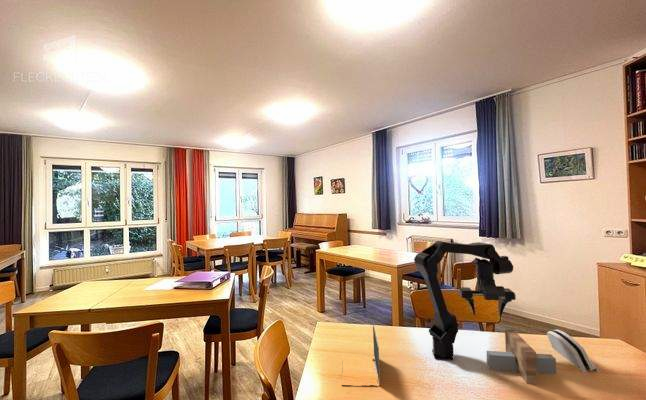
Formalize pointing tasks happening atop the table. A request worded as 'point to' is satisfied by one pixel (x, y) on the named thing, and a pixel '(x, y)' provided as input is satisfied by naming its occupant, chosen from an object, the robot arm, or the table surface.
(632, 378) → the table surface
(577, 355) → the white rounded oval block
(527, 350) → the walnut slat
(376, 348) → the laptop
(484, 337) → the table surface
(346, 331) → the table surface
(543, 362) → the notched gray bar
